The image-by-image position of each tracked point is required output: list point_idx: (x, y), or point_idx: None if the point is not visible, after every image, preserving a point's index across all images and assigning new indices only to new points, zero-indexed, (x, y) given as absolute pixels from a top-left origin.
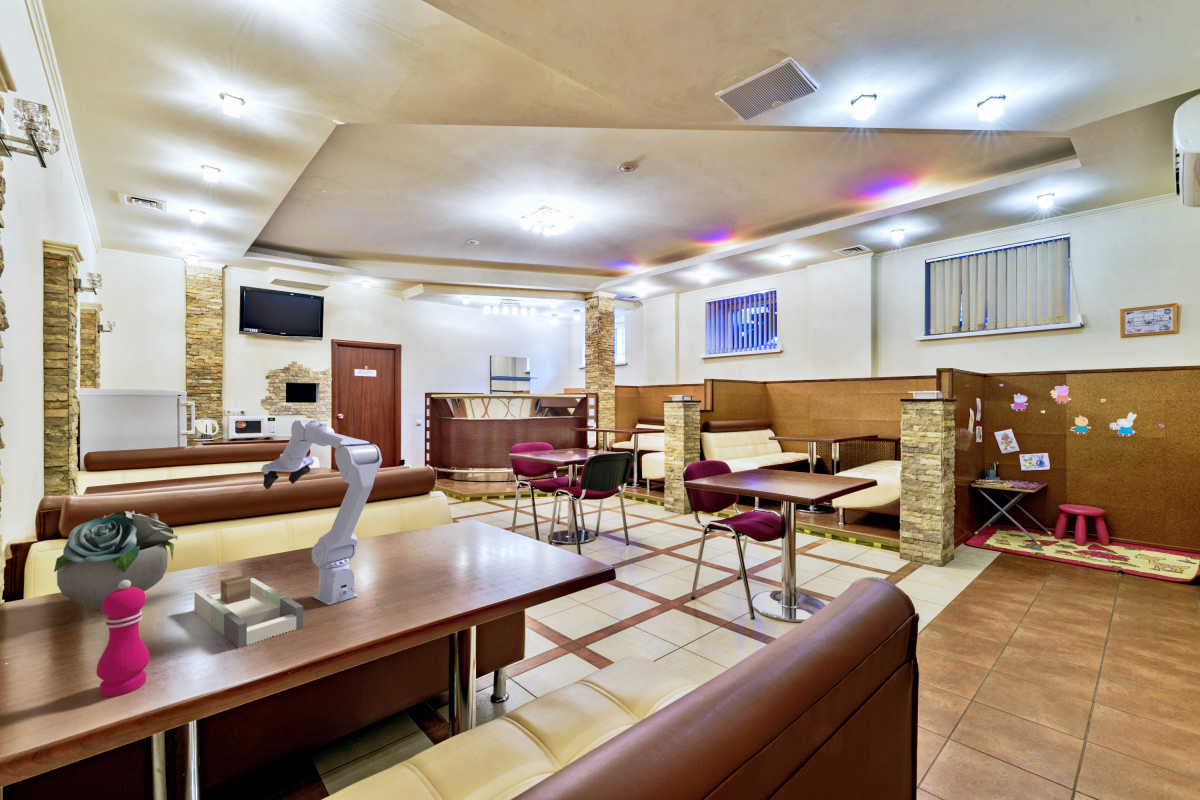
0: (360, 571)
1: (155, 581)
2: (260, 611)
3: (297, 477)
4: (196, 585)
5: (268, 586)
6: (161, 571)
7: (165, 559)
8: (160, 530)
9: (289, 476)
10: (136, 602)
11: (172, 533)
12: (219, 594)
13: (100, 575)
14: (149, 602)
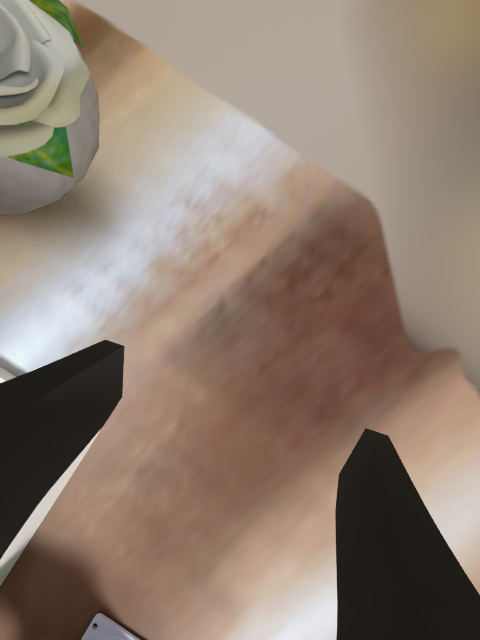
0: (321, 607)
1: (19, 214)
2: None
3: (339, 621)
4: (160, 229)
5: (8, 548)
6: (21, 204)
7: (22, 183)
8: None
9: (370, 457)
10: None
11: (18, 116)
12: None
13: None
14: (52, 222)
